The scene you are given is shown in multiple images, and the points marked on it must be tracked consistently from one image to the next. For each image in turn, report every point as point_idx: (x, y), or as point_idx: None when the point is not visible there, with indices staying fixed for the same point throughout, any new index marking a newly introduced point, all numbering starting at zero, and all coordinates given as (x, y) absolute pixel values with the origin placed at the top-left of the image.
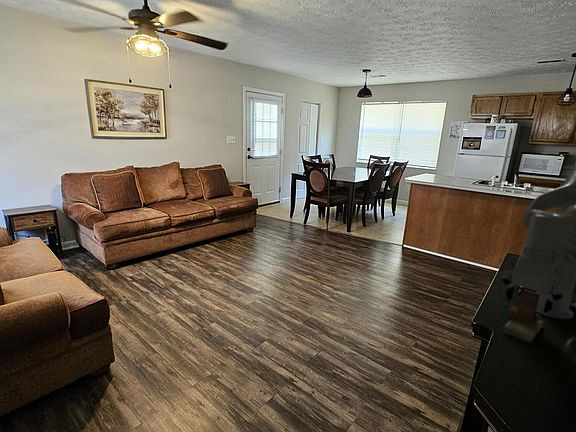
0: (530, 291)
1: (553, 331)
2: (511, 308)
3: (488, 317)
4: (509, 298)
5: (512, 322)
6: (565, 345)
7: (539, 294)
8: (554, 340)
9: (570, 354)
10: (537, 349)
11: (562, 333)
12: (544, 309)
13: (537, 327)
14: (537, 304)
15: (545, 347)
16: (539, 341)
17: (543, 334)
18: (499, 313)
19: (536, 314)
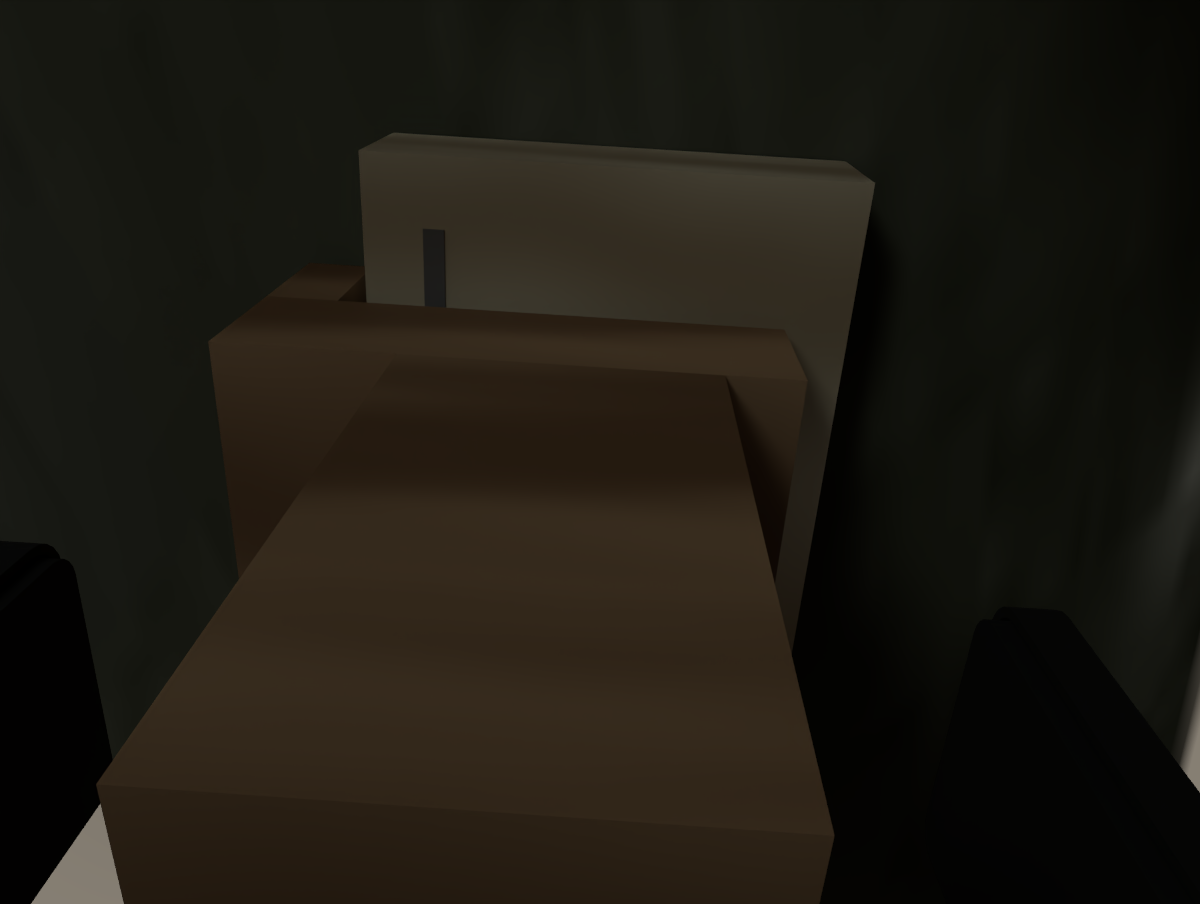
0: (405, 874)
1: (1035, 184)
2: (254, 504)
3: (94, 526)
4: (67, 836)
5: None
6: (1157, 563)
7: (817, 864)
8: (1022, 527)
9: (1176, 751)
10: (822, 892)
11: (1186, 131)
12: (954, 901)
13: (793, 565)
14: (755, 506)
15: (903, 795)
16: (833, 705)
17: (876, 453)
18: (114, 197)
19: (749, 387)
